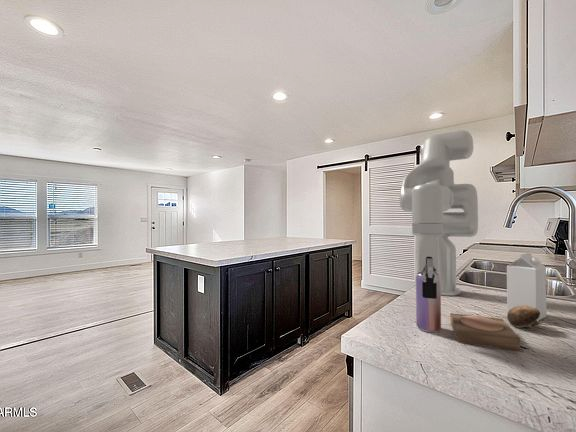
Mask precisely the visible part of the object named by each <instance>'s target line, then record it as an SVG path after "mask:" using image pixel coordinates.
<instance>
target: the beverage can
mask: <svg viewBox="0 0 576 432" xmlns="http://www.w3.org/2000/svg"><path fill="white" fill-rule="evenodd" d="M435 276H436V283H437V298H436V299H432V298H424V297H423V296H422V282H424V281H423V272H421V271H420V273H418V272H417V271H416V276H415V303H416V304H415V305H416V306H415V309H416V310H415V311H416V316H415V317H416V319H415V320H416V321H415V322H416V326H417V328H418V329H419V330H420V331H422V332H426V333H430V334H431V333H432V334H436V333H439V332H440V331H441V329H442V303H441V302H442V300H441V299H442V295H441V279H440V275H439V274H437V273H436V274H435Z"/></svg>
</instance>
